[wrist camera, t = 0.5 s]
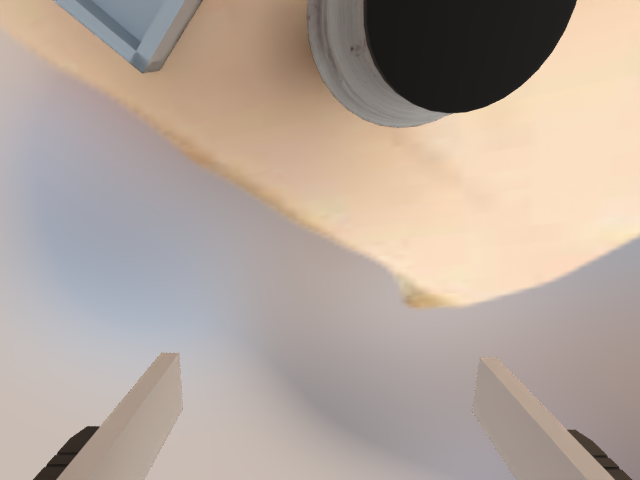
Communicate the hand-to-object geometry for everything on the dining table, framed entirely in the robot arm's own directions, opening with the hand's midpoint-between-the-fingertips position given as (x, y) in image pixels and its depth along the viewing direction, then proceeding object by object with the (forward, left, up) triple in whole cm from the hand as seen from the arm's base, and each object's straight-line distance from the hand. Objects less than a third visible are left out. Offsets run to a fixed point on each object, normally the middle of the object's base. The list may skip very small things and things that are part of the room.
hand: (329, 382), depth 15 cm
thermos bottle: (-12, -7, -28) cm, 31 cm away
